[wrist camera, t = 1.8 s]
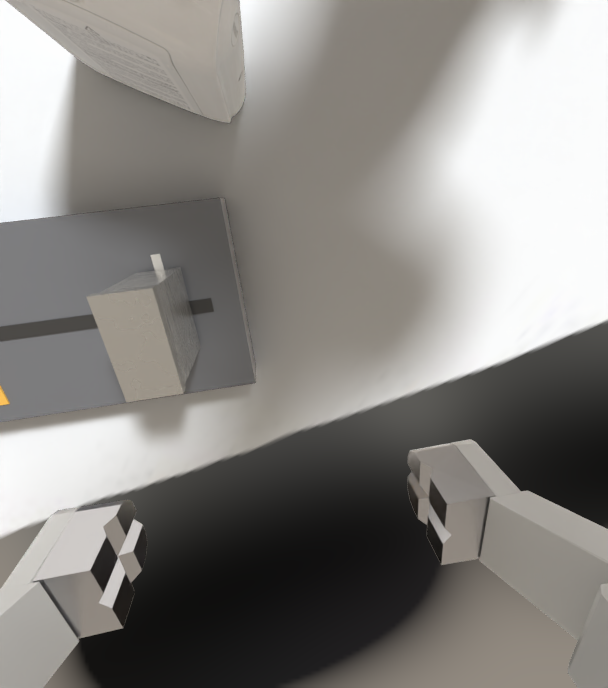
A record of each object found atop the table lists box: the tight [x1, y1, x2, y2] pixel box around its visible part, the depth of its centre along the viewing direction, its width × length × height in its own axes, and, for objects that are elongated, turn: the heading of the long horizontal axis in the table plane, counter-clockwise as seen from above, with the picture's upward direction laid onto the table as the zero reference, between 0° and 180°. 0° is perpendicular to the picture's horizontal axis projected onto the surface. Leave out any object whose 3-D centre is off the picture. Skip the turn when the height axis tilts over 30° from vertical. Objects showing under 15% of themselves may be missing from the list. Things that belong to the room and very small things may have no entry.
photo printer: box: [6, 0, 246, 123], centre depth 15 cm, size 10×4×12 cm, turn 71°
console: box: [0, 198, 256, 422], centre depth 25 cm, size 26×14×3 cm, turn 96°
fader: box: [86, 267, 200, 402], centre depth 21 cm, size 3×6×7 cm, turn 6°
